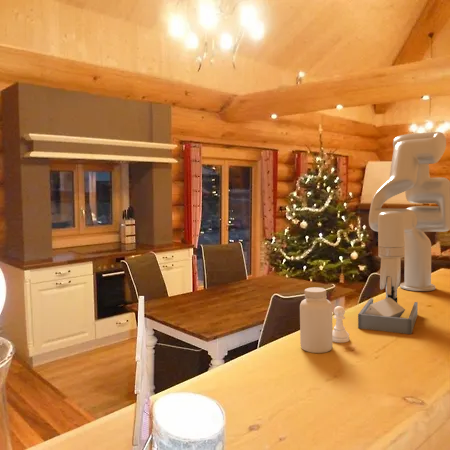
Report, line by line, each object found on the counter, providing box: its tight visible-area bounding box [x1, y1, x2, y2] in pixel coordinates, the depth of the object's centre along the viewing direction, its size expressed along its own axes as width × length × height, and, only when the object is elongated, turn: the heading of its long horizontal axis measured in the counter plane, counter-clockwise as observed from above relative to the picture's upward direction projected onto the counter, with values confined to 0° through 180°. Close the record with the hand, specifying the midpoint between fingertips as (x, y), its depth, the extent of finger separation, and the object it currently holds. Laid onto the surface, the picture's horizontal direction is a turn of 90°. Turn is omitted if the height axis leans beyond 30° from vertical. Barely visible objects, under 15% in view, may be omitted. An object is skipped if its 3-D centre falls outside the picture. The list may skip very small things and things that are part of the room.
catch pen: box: [357, 297, 419, 335], centre depth 134 cm, size 20×14×4 cm
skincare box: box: [365, 297, 406, 318], centre depth 133 cm, size 6×4×12 cm
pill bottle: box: [299, 286, 334, 354], centre depth 113 cm, size 8×8×15 cm
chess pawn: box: [332, 305, 350, 344], centre depth 119 cm, size 5×5×9 cm
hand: (391, 310), depth 140 cm, fingers closed
